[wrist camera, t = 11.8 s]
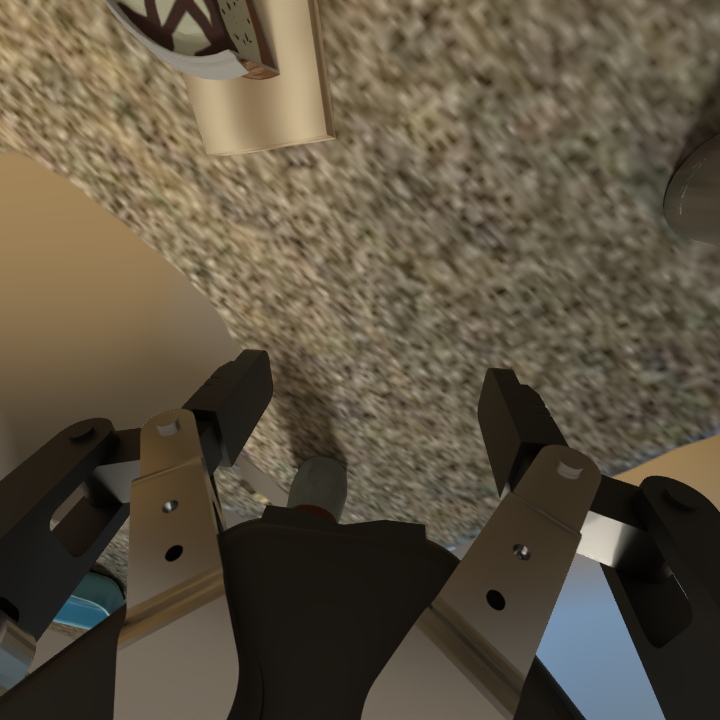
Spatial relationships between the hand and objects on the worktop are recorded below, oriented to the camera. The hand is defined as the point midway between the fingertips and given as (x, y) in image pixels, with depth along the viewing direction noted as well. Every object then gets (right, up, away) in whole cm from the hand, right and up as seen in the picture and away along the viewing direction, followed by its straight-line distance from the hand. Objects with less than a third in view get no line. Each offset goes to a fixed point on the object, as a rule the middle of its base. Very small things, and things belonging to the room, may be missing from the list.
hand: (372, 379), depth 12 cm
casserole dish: (-80, -60, +78) cm, 127 cm away
